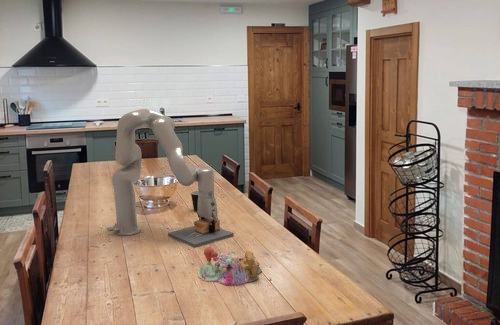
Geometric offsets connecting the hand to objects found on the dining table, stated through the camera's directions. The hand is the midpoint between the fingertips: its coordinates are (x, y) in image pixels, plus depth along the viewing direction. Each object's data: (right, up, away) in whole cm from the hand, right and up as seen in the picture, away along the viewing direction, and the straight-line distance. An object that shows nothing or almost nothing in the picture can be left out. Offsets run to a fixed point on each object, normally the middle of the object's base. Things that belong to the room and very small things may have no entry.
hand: (207, 230), depth 249 cm
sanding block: (0, 0, 0) cm, 0 cm away
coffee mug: (-6, +6, +40) cm, 41 cm away
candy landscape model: (+12, -11, -46) cm, 49 cm away
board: (-3, -2, -2) cm, 4 cm away
